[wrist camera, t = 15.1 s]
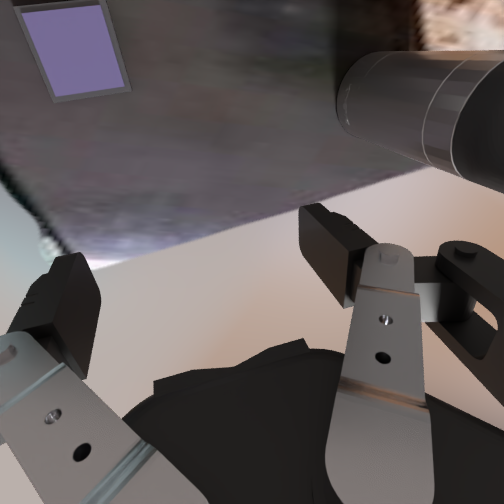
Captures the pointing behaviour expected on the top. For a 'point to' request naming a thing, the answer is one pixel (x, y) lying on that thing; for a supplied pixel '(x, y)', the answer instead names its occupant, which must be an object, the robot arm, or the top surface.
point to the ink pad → (75, 48)
